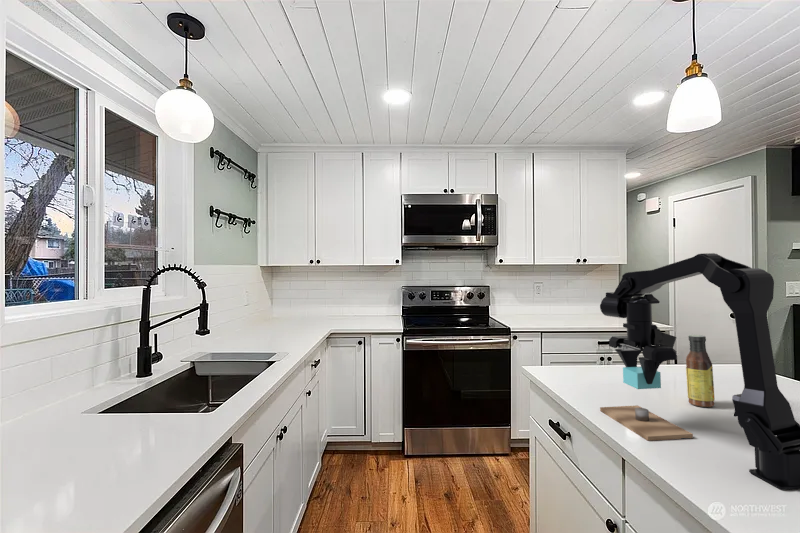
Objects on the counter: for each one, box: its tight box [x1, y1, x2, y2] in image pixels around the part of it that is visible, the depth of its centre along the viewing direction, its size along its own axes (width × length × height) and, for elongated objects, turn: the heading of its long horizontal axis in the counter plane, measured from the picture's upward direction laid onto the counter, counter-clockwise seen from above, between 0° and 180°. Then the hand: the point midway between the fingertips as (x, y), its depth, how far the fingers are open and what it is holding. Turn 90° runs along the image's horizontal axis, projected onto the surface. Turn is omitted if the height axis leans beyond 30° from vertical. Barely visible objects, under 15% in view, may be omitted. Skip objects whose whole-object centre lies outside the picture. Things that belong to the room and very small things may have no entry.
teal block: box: [622, 366, 662, 390], centre depth 103 cm, size 6×6×4 cm
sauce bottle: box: [685, 334, 715, 408], centre depth 116 cm, size 6×6×20 cm
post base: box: [599, 404, 694, 442], centre depth 103 cm, size 20×11×4 cm, turn 3°
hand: (641, 380), depth 103 cm, fingers closed on teal block, 6 cm apart
